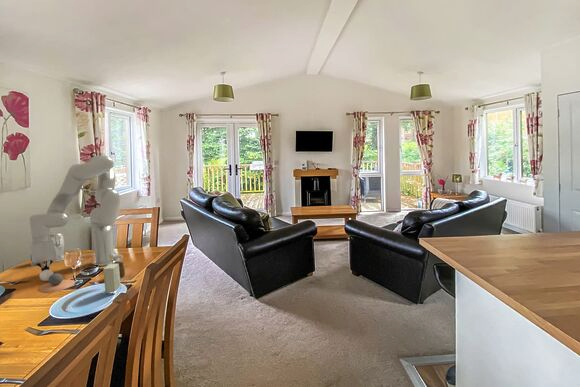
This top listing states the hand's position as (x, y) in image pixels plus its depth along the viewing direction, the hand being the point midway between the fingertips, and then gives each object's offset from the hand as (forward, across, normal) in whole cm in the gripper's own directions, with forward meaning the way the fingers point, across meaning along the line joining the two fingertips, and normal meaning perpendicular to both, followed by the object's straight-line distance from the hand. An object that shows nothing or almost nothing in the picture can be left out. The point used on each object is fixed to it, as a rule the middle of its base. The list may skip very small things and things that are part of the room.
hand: (46, 274), depth 169 cm
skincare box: (+2, -14, +46) cm, 48 cm away
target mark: (+2, 0, +18) cm, 18 cm away
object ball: (-1, 0, +15) cm, 15 cm away
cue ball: (-1, +1, +6) cm, 6 cm away
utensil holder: (+2, -23, +29) cm, 37 cm away
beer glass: (+2, -13, -27) cm, 30 cm away
